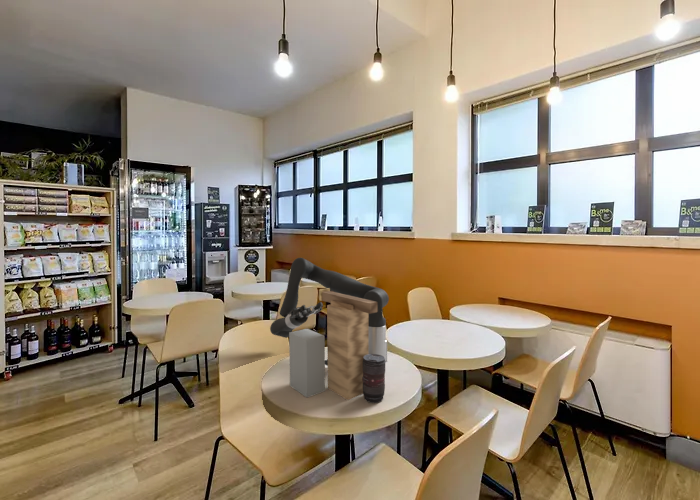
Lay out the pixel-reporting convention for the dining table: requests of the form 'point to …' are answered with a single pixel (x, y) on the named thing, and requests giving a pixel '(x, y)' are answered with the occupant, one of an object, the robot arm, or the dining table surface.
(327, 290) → the walnut bar
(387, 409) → the dining table surface
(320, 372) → the grey block
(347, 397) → the oak stand
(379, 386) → the camera lens
